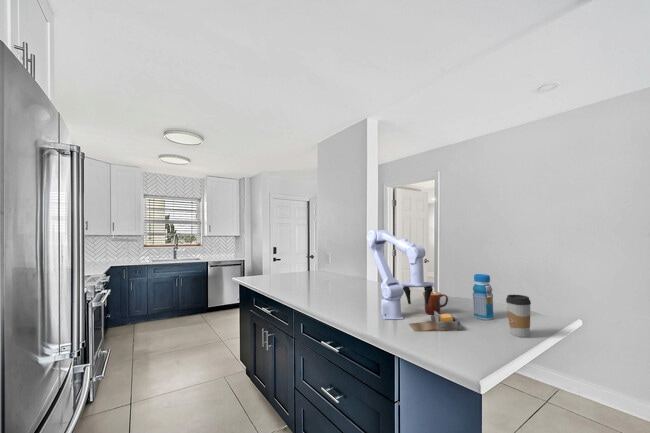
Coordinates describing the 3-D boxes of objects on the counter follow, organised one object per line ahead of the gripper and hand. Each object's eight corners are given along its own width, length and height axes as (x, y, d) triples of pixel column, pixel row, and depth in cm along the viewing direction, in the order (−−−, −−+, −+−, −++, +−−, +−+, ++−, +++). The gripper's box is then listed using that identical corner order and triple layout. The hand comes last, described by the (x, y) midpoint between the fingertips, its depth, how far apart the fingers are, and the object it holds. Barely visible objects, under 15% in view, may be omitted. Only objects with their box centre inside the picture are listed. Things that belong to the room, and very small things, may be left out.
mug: (425, 316, 144) (424, 295, 144) (421, 311, 152) (420, 291, 153) (451, 316, 142) (450, 295, 143) (445, 311, 151) (444, 291, 152)
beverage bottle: (474, 319, 137) (472, 276, 138) (473, 314, 145) (471, 273, 146) (495, 321, 134) (493, 276, 135) (492, 315, 142) (490, 274, 143)
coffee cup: (502, 331, 120) (500, 294, 121) (522, 330, 121) (520, 293, 121) (517, 339, 112) (515, 299, 112) (538, 338, 113) (536, 298, 113)
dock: (414, 333, 123) (413, 322, 123) (408, 325, 133) (408, 315, 133) (460, 333, 122) (460, 321, 123) (451, 325, 132) (451, 314, 132)
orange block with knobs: (438, 326, 125) (438, 314, 125) (433, 321, 131) (433, 310, 131) (454, 325, 124) (453, 314, 125) (448, 321, 131) (448, 310, 131)
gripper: (402, 274, 128) (403, 306, 128) (436, 274, 128) (437, 305, 127) (399, 272, 135) (400, 302, 135) (431, 271, 135) (432, 301, 134)
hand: (417, 303), depth 131 cm, fingers open, 7 cm apart
